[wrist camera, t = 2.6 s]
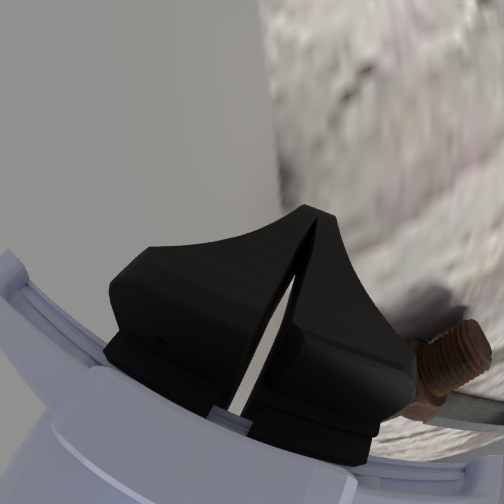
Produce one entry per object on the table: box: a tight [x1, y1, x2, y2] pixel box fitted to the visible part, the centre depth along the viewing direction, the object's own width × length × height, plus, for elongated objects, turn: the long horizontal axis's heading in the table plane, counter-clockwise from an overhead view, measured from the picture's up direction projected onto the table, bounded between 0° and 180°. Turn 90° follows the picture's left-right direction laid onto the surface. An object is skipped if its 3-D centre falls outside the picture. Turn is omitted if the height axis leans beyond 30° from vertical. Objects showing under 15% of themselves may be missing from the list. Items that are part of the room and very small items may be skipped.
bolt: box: [381, 319, 492, 423], centre depth 14 cm, size 6×5×15 cm
